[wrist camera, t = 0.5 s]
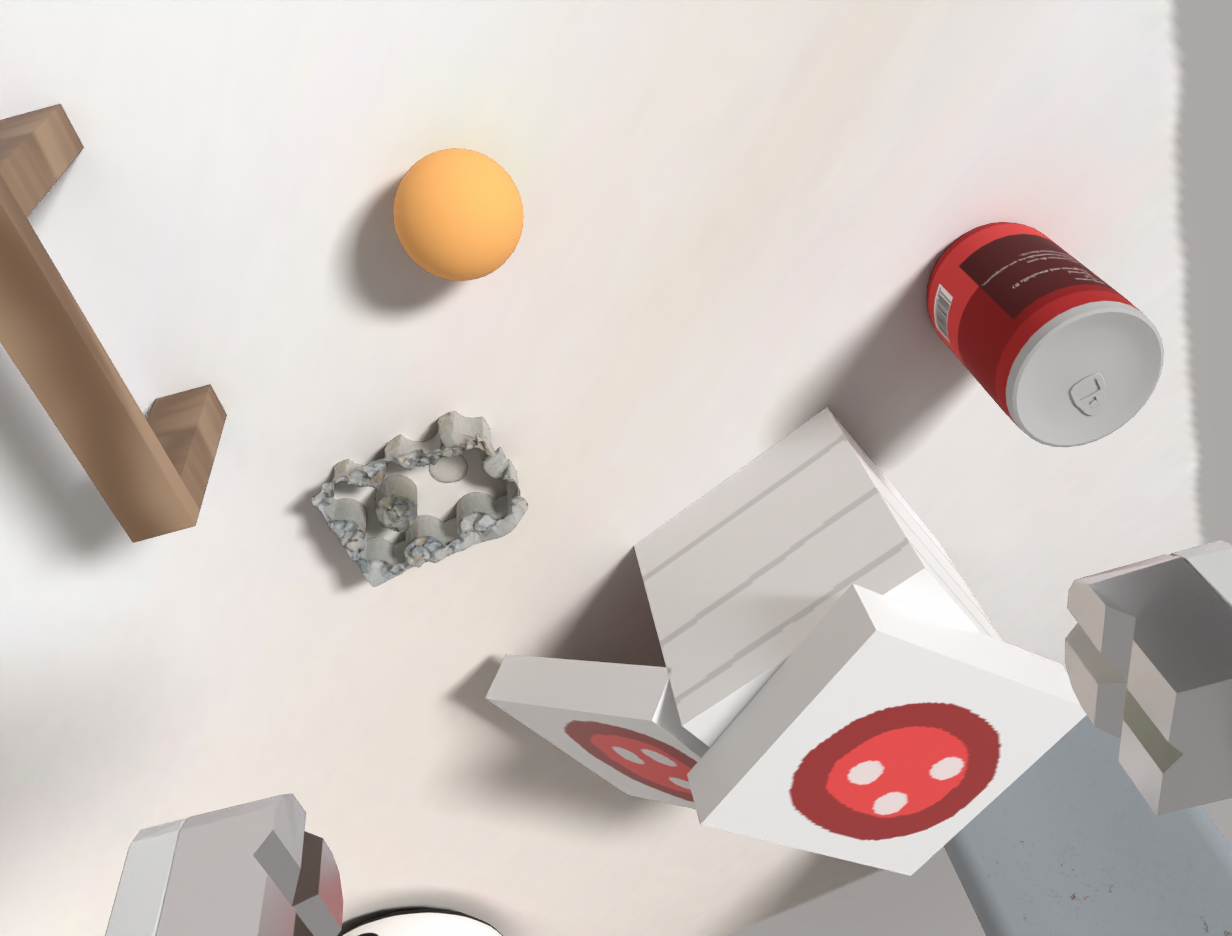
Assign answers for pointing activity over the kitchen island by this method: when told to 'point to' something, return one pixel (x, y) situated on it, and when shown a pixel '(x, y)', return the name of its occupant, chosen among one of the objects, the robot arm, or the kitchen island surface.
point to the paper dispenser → (806, 669)
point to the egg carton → (399, 501)
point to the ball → (458, 214)
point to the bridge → (91, 356)
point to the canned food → (1043, 334)
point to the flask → (1092, 853)
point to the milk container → (423, 925)
